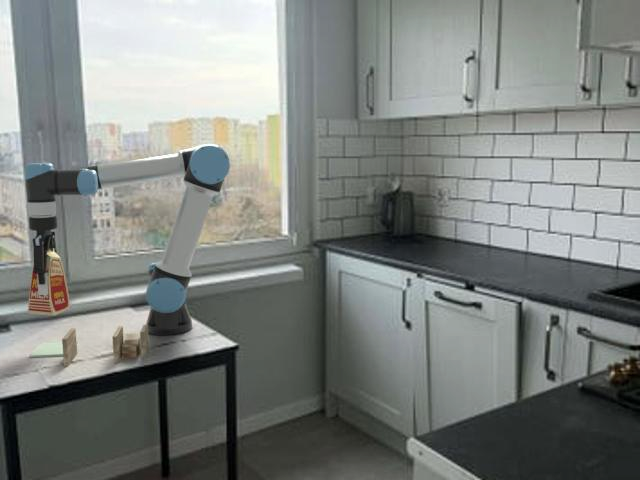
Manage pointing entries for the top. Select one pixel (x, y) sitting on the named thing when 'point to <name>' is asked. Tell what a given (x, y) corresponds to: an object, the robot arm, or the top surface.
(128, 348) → the offcut middle
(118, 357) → the rack
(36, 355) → the mat
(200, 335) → the top surface
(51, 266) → the milk carton
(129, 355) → the block
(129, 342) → the offcut top
